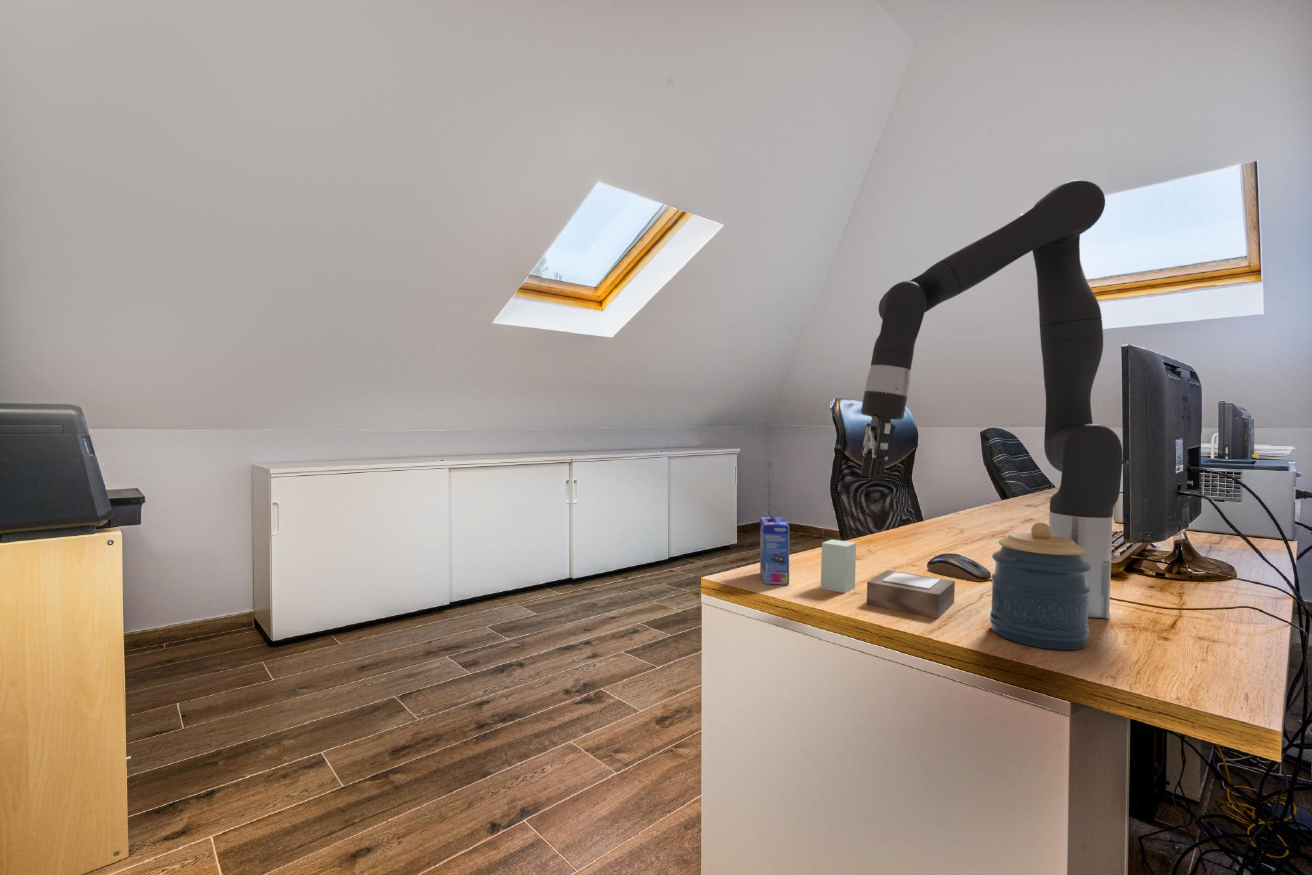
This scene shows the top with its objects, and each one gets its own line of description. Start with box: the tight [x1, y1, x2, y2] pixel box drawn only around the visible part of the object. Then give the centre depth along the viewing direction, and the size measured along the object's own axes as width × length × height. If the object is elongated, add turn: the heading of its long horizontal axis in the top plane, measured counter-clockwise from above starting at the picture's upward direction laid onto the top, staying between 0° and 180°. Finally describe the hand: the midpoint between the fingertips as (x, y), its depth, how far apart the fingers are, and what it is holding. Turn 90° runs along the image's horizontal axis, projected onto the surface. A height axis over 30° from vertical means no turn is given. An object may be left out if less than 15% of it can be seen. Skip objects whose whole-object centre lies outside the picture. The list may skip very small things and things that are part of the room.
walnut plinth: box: [866, 569, 956, 619], centre depth 109 cm, size 12×12×4 cm
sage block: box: [820, 539, 857, 594], centre depth 119 cm, size 5×5×9 cm
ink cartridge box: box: [759, 507, 790, 586], centre depth 125 cm, size 10×6×14 cm, turn 174°
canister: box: [989, 522, 1092, 651], centre depth 93 cm, size 13×13×18 cm
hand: (870, 478), depth 113 cm, fingers open, 8 cm apart
